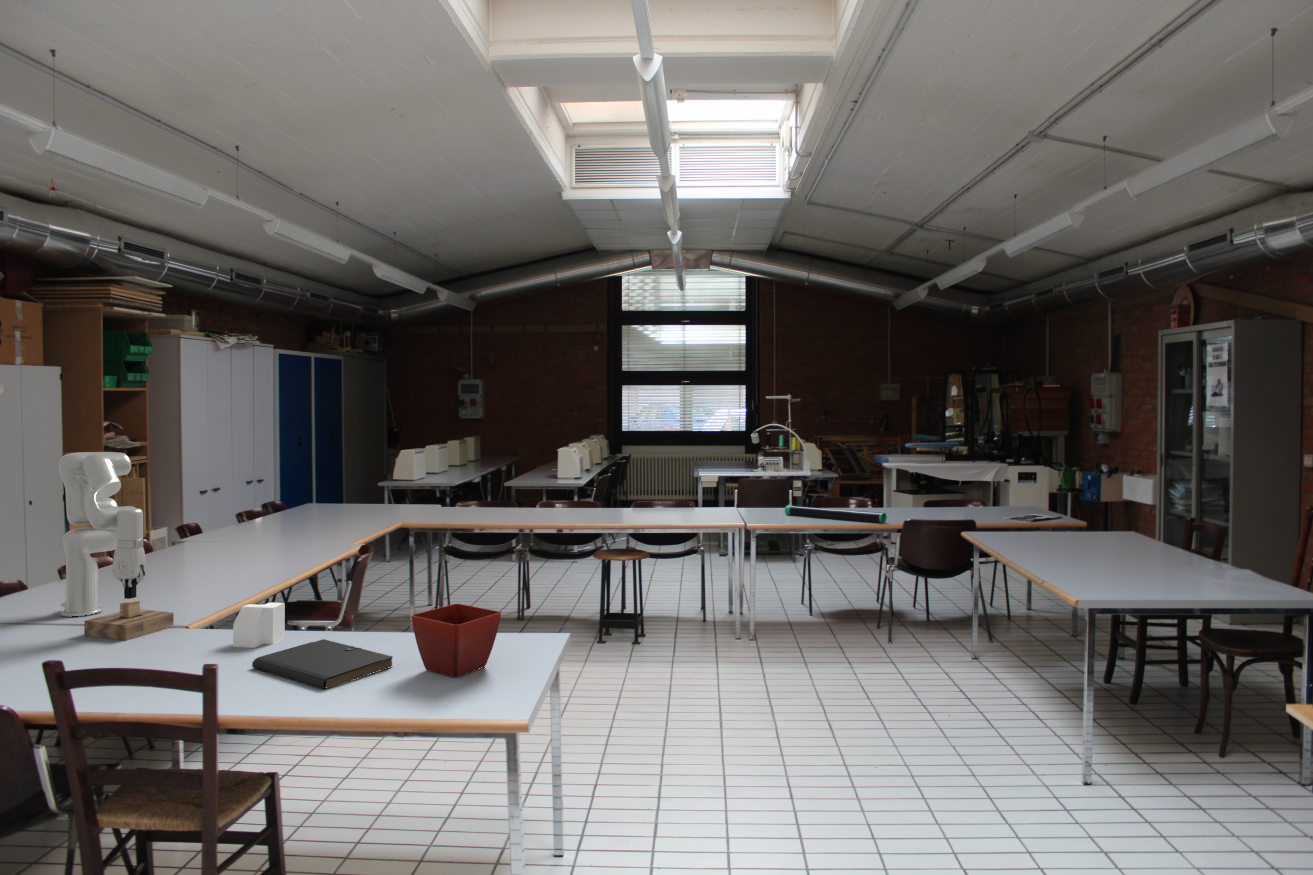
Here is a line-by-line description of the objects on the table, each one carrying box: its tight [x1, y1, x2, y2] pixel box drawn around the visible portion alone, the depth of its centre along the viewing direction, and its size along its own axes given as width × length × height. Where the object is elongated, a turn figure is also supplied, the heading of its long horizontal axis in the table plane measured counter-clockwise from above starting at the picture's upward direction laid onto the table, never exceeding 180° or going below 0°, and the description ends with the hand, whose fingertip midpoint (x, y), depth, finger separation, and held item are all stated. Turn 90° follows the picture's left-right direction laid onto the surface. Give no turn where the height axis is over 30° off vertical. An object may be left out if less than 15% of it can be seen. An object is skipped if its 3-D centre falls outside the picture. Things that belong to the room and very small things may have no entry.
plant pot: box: [411, 603, 502, 679], centre depth 233 cm, size 19×19×17 cm
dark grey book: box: [251, 638, 394, 691], centre depth 232 cm, size 33×4×24 cm
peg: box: [119, 600, 141, 619], centre depth 268 cm, size 4×4×10 cm
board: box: [83, 608, 175, 641], centre depth 268 cm, size 18×18×5 cm
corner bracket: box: [232, 602, 286, 649], centre depth 257 cm, size 11×11×12 cm
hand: (130, 597), depth 267 cm, fingers closed
